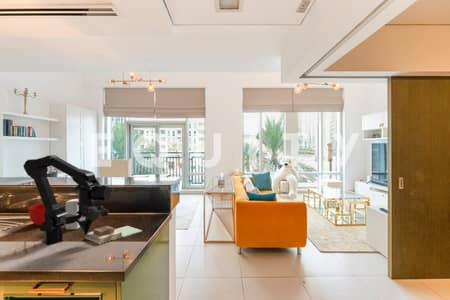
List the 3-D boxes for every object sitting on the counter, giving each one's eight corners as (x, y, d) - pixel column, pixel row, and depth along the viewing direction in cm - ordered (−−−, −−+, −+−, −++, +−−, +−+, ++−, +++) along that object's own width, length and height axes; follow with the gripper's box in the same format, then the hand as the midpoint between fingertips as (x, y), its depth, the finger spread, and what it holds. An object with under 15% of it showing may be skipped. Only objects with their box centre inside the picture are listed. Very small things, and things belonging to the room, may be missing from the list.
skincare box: (77, 229, 134) (77, 201, 134) (65, 229, 134) (65, 201, 133) (83, 224, 143) (84, 198, 143) (72, 225, 142) (72, 198, 142)
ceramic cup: (67, 219, 153) (67, 202, 153) (44, 228, 136) (44, 209, 136) (47, 218, 155) (47, 201, 154) (22, 226, 138) (22, 208, 138)
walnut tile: (100, 236, 118) (100, 231, 118) (93, 233, 121) (93, 229, 121) (114, 232, 124) (114, 228, 124) (107, 229, 127) (107, 225, 127)
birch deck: (99, 244, 115) (99, 238, 114) (85, 238, 121) (85, 233, 121) (121, 237, 123) (121, 232, 123) (107, 232, 130) (107, 227, 130)
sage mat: (123, 237, 124) (123, 236, 124) (108, 232, 131) (108, 231, 131) (142, 231, 133) (142, 230, 133) (127, 226, 140) (127, 225, 140)
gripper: (72, 206, 103) (72, 245, 103) (115, 199, 118) (115, 232, 118) (59, 202, 109) (59, 238, 110) (102, 196, 125) (102, 228, 125)
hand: (85, 234), depth 115 cm, fingers closed
